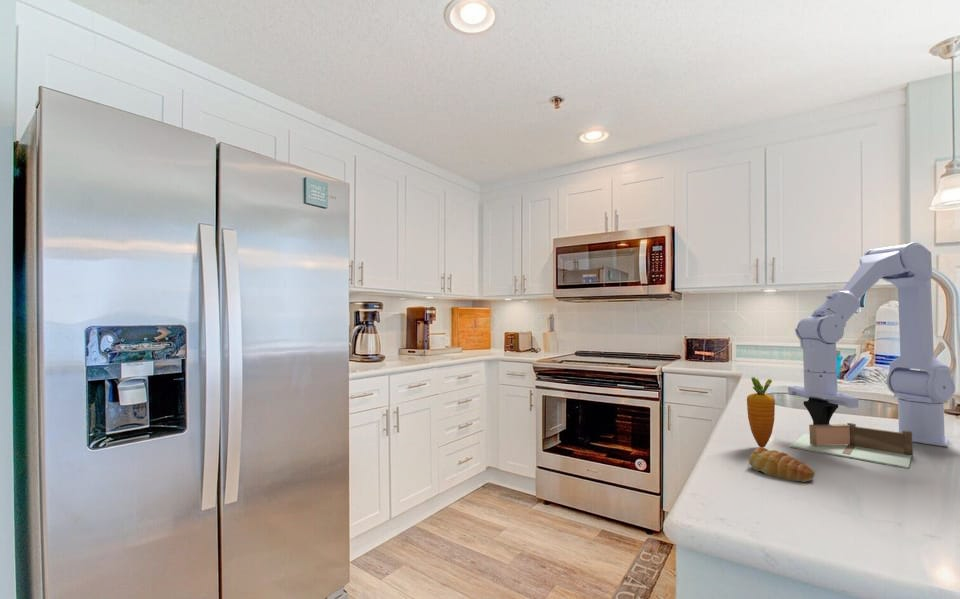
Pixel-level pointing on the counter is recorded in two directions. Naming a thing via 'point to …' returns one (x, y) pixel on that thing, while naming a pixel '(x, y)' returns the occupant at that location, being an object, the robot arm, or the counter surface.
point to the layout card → (855, 452)
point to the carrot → (761, 412)
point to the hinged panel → (829, 434)
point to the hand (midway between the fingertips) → (821, 434)
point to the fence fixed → (881, 439)
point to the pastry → (780, 465)
